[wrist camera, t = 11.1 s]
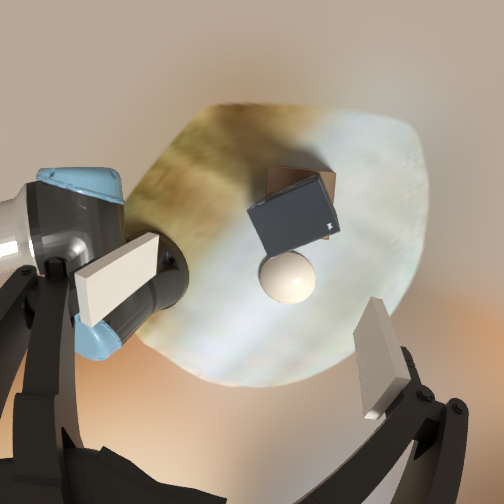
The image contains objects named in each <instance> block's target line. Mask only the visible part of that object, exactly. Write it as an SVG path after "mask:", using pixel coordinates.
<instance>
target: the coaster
mask: <svg viewBox="0 0 504 504" xmlns="http://www.w3.org/2000/svg"><path fill="white" fill-rule="evenodd" d="M260 282H261V286H262V288H263V290H264V292H265V293H266V294H267V295H268V296H269V297H270V298H271V299H273V300H275V301H277V302H279V303H283V304H295V303H299V302H301V301H303V300H305V299H306V298H307V297H308V296H309V295H310V294H311V293H312V291H313V289H314V286H315V282H316V276H315V271H314V268H313V266H312V265H311V263H310V262H309V261H308V260H307V259H306V258H304V257H303V256H301V255H299V254H297V253H293V252H286V253H283V254H281V255H279V256H276V257H274V258H272V259H270V258H269V259H268V260H267V261H266V262H265V264H264V265H263V267H262V270H261V273H260Z"/></svg>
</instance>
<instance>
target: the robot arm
mask: <svg viewBox="0 0 504 504" xmlns="http://www.w3.org/2000/svg"><path fill="white" fill-rule="evenodd" d="M36 179H38V181H35V182H30V183H25V184H24V186H23V187H22V188H21V190H20V191H19V193H18V194H17V196H16V197H15V198H14V199H10V200H6V201H2V202H0V274H1V273H4V272H8V271H11V270H15V269H17V270H16V271H15V272H14V273H13V274H12V275H11V276H10V278H9V279H8V280H7V281H6V282H5V283H4V285H3V286H2V287H1V288H0V418H1V415H2V412H3V409H4V406H5V402H6V399H7V397H8V394H9V391H10V388H11V386H12V383H13V381H14V378H15V376H16V373H17V371H18V368H19V366H20V364H21V361H22V359H23V357H24V354H25V352H26V350H27V348H28V351H27V357H26V364H25V372H24V380H23V389H22V393H16V395H15V398H14V408H13V458H3V459H0V504H226V501H227V498H223V497H219V496H216V495H212V494H209V493H206V492H203V491H200V490H197V489H194V488H187V487H180V486H174V485H169V484H164V483H160V482H157V481H156V480H154V479H153V478H151V477H150V476H149V475H147V474H146V473H145V472H143V471H142V470H141V469H140V468H138V467H137V466H136V465H135V464H134V463H132V462H131V461H130V460H128V459H126V458H124V457H122V456H120V455H118V454H116V453H115V452H113V451H111V450H110V449H108V448H106V447H104V446H103V447H102V449H101V450H100V451H98V450H94V449H88V448H84V446H83V443H82V440H81V437H80V433H79V425H78V416H77V405H76V391H75V365H74V363H75V361H74V360H75V359H74V358H75V351H76V352H77V353H79V354H80V355H82V356H84V357H85V358H88V359H90V360H95V361H102V360H105V359H107V358H108V357H109V356H110V355H112V353H114V352H115V351H116V350H119V349H120V348H121V346H122V345H123V344H124V343H125V342H126V341H127V339H129V338H130V337H131V336H132V334H133V333H134V332H135V331H136V330H137V329H138V328H139V327H140V326H141V325H142V324H143V323H144V322H145V321H146V320H147V319H148V317H150V316H151V314H153V313H155V312H157V311H160V310H164V309H167V308H170V307H172V306H173V305H175V304H176V303H177V302H178V301H179V300H180V299H181V298H182V297H183V295H184V294H185V292H186V290H187V288H188V284H189V271H188V266H187V263H186V260H185V258H184V256H183V254H182V253H181V251H180V250H179V248H178V247H177V246H176V245H175V244H174V243H173V242H172V241H171V240H170V239H169V238H167V237H166V236H164V235H162V234H160V233H158V232H154V231H142V232H138V233H136V234H134V235H132V236H130V237H129V238H127V239H126V230H125V220H124V205H123V204H125V201H124V200H123V194H122V185H121V178H120V175H119V173H118V172H117V171H116V170H114V169H111V168H103V167H65V168H64V167H63V168H42V169H39V171H38V173H37V176H36ZM43 274H45V277H42V276H38V275H43ZM353 336H354V342H355V349H356V355H357V362H358V370H359V378H360V386H361V395H362V404H363V415H364V418H368V419H377V420H378V419H379V418H380V417H381V416H382V415H383V413H384V412H385V414H386V419H385V420H384V422H383V423H382V424H381V425H380V426H379V427H378V428H377V429H376V430H375V431H374V433H373V434H372V435H371V436H370V437H369V438H368V439H367V440H366V441H365V442H364V443H363V445H362V446H360V447H359V448H358V449H357V450H356V451H355V452H354V453H353V454H352V455H351V456H350V457H349V458H348V459H347V460H346V461H345V462H344V463H343V464H342V465H341V466H339V467H338V468H337V469H336V470H335V471H334V472H333V473H332V474H330V475H329V476H328V477H327V478H326V479H324V480H323V481H322V482H321V483H320V484H318V485H317V486H316V487H315V488H313V489H312V490H311V491H310V492H308V493H307V494H306V495H304V496H303V497H302V498H300V499H299V500H298V501H296V502H295V503H293V504H361V503H362V502H363V501H364V500H365V499H366V498H367V497H368V496H369V495H370V494H371V492H372V491H373V490H374V489H375V488H376V487H377V486H378V484H379V483H380V482H381V481H382V480H383V478H384V477H385V476H386V475H387V473H388V472H389V471H390V470H391V468H392V467H393V466H394V464H395V463H396V461H398V459H399V458H400V456H401V455H402V454H403V452H404V451H405V449H406V448H407V447H408V445H409V443H410V442H411V441H412V439H413V440H414V443H413V447H412V450H411V453H410V456H409V459H408V462H407V464H406V467H405V470H404V472H403V475H402V478H401V480H400V483H399V485H398V487H397V490H396V492H395V494H394V497H393V499H392V501H391V503H390V504H455V503H456V499H457V495H458V491H459V486H460V482H461V477H462V471H463V465H464V459H465V451H466V442H467V432H468V416H469V412H468V408H467V406H466V404H465V403H464V402H463V401H462V400H460V399H458V398H452V399H450V400H449V401H448V402H447V403H446V404H443V403H441V402H438V401H435V397H434V394H433V392H432V391H431V390H430V389H429V388H428V387H426V386H424V385H422V384H421V381H420V378H419V375H418V373H417V370H416V368H415V364H414V362H413V358H412V356H411V354H410V352H409V351H408V350H407V349H406V347H402V346H400V345H399V342H398V339H397V336H396V334H395V331H394V329H393V326H392V323H391V320H390V318H389V315H388V313H387V310H386V308H385V305H384V303H383V301H382V299H378V298H375V297H370V300H369V302H368V304H367V306H366V308H365V310H364V313H363V315H362V317H361V319H360V321H359V323H358V325H357V327H356V329H355V331H354V333H353Z"/></svg>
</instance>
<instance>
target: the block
mask: <svg viewBox="0 0 504 504" xmlns="http://www.w3.org/2000/svg"><path fill="white" fill-rule="evenodd" d="M317 173H320V175H321V178H322V180H323V182H324V185H325V187H326V189H327V192H328V194H329V196H330V199H331V201H332V204H333V201H334V191H335V181H336V173H335V172H331V171H323V170H314V169H304V168H294V167H282V166H268V167H267V181H266V196H267V195H269V194H271V193H273V192H276V191H278V190H281V189H283V188H285V187H287V186H289V185H292V184H294V183H296V182H299V181H301V180H303V179H306V178H308V177H310V176H313V175H315V174H317ZM322 239H325V240H329V236H327V237H324V238H322Z"/></svg>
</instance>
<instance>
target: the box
mask: <svg viewBox="0 0 504 504" xmlns="http://www.w3.org/2000/svg"><path fill="white" fill-rule="evenodd" d="M247 212H248V214H249V217H250V219H251V221H252V223H253V225H254V227H255V229H256V231H257V233H258V235H259V237H260V240H261V242H262V244H263V246H264V249H265V251H266V253H267V255H268V257H269V258H270V259H272V258H274V257H276V256H279V255H281V254H283V253H286V252H288V251H291V250H293V249H296V248H298V247H301V246H303V245H306V244H309V243H311V242H314V241H316V240H319V239H322V238H324V237H327V236H330V235H332V234H336V233H338V232H340V227H339V222H338V218H337V214H336V211H335V208H334V206H333V204H332V201H331V199H330V196H329V194H328V192H327V189H326V187H325V185H324V182H323V180H322V178H321V175H320V173H317V174H315V175H313V176H310V177H308V178H306V179H303V180H301V181H299V182H296V183H294V184H292V185H289V186H287V187H285V188H283V189H281V190H278V191H276V192H273V193H271V194H269V195H267V196H265V197H264V198H262V199H261V200H260V201H258V202H257V203H256V204H254V205H253V206H251V207H250V208H248V209H247Z"/></svg>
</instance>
